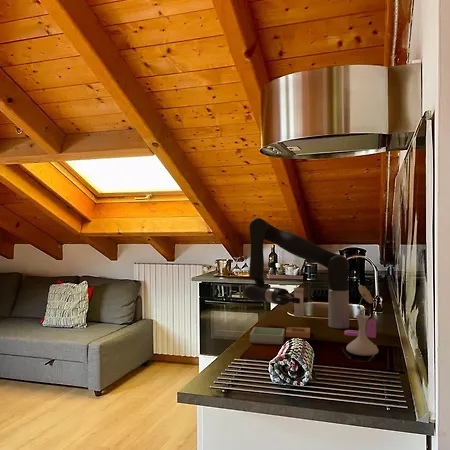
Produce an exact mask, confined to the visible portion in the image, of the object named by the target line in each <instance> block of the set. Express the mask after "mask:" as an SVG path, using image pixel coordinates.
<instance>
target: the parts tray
mask: <svg viewBox="0 0 450 450" xmlns="http://www.w3.org/2000/svg"><path fill="white" fill-rule="evenodd" d="M285 329H286V328H277V327H260V326H259V327H257V326H256V327H255V326H254V327H253V328H252V329H251V331H250V333H249V343H250V344H264V345H280V344H281V345H282V344H284V342H285V341H284V340H285V337H286V330H285Z"/></svg>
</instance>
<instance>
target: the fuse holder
mask: <svg viewBox="0 0 450 450" xmlns="http://www.w3.org/2000/svg"><path fill="white" fill-rule="evenodd" d="M285 329H286V330H285V337H286V338H301V339H302V338H303V339H304V338H305V339H309V338H311V328H310V327H297V326H296V327H294V326H287V327H286V328H285Z"/></svg>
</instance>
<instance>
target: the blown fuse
mask: <svg viewBox="0 0 450 450" xmlns="http://www.w3.org/2000/svg"><path fill="white" fill-rule="evenodd" d="M304 289H305V288H304V287H293V294H294V297H295V298H300V303H299V304H297V303H293V305H294V306H293V309H294V311H293V317H295V318H303V317H304V318H305V313H304V310H305V309H304V302H303V295H304Z"/></svg>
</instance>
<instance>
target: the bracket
mask: <svg viewBox="0 0 450 450" xmlns="http://www.w3.org/2000/svg"><path fill="white" fill-rule="evenodd" d="M365 333H366V337H367V338H370V339H371V338H372V339H376V338H377V322H376V320H375V319H373V318H368V320H367V322H366V328H365ZM344 335H345V336H350V337H358V335H359V330H353V329H346V330H345V329H344Z"/></svg>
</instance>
